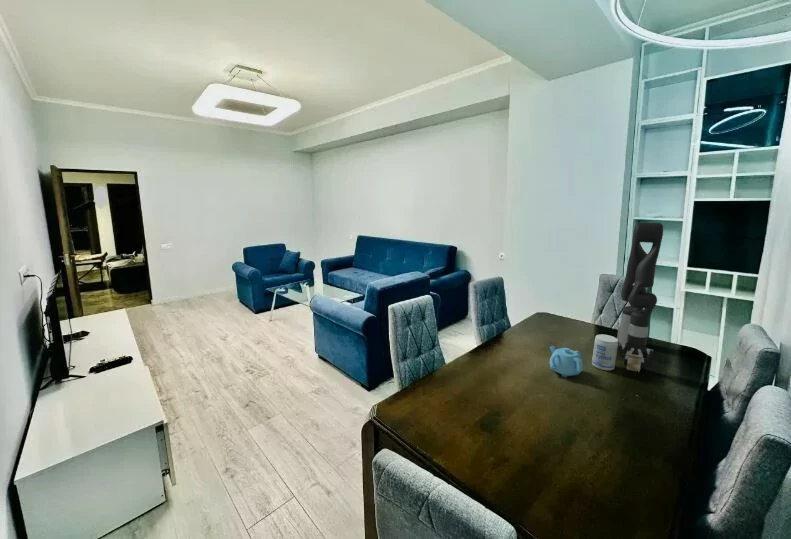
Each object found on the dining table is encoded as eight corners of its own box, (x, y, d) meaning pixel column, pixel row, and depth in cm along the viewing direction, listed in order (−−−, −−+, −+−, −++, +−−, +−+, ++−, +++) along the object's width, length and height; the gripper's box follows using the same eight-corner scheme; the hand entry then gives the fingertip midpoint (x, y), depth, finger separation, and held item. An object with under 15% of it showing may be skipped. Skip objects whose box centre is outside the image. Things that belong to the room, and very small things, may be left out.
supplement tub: (593, 369, 164) (596, 340, 161) (590, 360, 173) (593, 333, 170) (617, 372, 161) (620, 343, 158) (612, 363, 170) (615, 335, 167)
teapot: (595, 379, 155) (598, 354, 153) (565, 385, 151) (567, 360, 148) (562, 359, 174) (565, 337, 172) (534, 364, 170) (536, 341, 167)
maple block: (626, 369, 164) (628, 357, 162) (626, 365, 168) (627, 353, 167) (639, 371, 161) (641, 360, 160) (638, 367, 165) (640, 355, 164)
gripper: (619, 333, 161) (615, 366, 165) (657, 339, 154) (652, 374, 158) (619, 328, 168) (615, 360, 171) (655, 334, 160) (650, 367, 164)
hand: (633, 367), depth 164 cm, fingers closed on maple block, 5 cm apart
